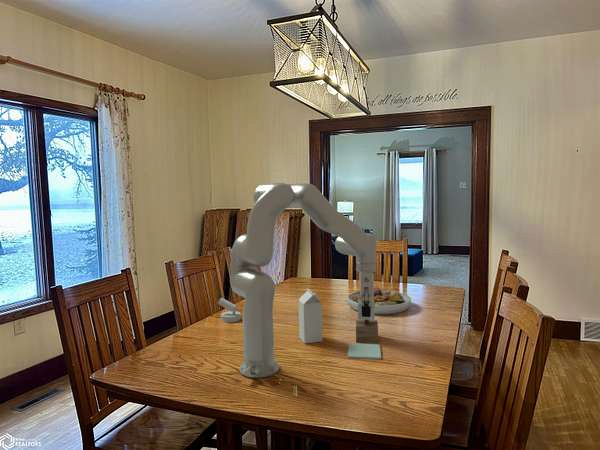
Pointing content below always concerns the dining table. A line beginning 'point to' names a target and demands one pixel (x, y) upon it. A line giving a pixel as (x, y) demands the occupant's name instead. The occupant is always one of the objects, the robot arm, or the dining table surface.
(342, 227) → the robot arm
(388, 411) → the dining table surface
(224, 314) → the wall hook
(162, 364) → the dining table surface
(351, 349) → the mat
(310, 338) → the milk carton
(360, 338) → the post
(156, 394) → the dining table surface
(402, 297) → the bowl
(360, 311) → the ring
